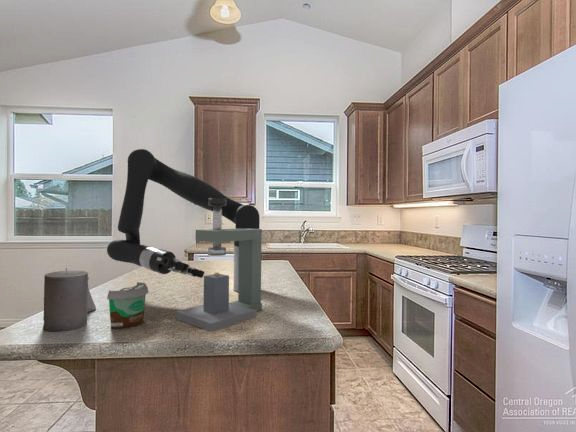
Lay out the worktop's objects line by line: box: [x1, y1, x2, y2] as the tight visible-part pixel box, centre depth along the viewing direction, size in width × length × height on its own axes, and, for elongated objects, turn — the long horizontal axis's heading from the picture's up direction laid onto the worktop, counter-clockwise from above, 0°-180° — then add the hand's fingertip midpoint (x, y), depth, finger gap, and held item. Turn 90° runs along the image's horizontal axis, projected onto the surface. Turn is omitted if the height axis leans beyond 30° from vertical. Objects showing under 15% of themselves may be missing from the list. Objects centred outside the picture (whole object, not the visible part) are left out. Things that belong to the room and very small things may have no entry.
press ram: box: [207, 198, 227, 257], centre depth 96 cm, size 5×5×16 cm
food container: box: [106, 281, 149, 330], centre depth 90 cm, size 12×6×10 cm, turn 168°
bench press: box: [175, 228, 263, 332], centre depth 99 cm, size 23×16×25 cm
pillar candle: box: [42, 268, 89, 332], centre depth 88 cm, size 10×10×15 cm
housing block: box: [203, 272, 230, 314], centre depth 96 cm, size 5×5×11 cm
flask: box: [87, 276, 97, 313], centre depth 102 cm, size 7×7×10 cm
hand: (195, 271), depth 105 cm, fingers open, 8 cm apart
